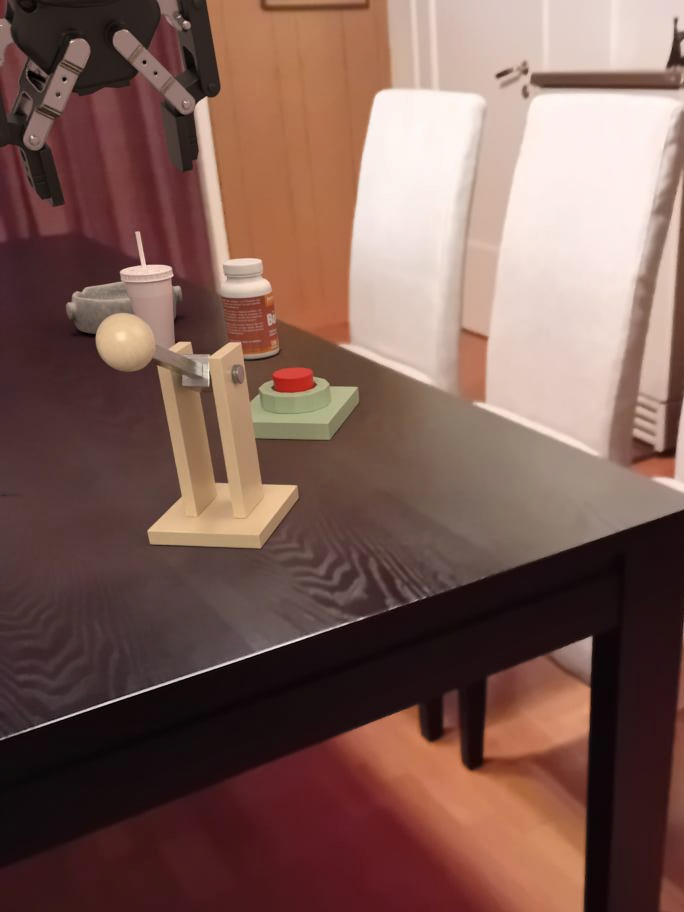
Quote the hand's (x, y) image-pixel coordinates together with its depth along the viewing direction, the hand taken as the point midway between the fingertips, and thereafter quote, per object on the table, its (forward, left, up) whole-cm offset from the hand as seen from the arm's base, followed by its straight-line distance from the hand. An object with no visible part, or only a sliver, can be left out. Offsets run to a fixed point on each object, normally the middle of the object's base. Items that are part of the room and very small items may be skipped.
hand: (118, 182), depth 64 cm
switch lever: (0, -1, -13) cm, 13 cm away
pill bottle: (+33, +47, -26) cm, 63 cm away
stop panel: (+23, +21, -26) cm, 41 cm away
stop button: (+23, +21, -23) cm, 39 cm away
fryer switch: (+5, +3, -26) cm, 27 cm away
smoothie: (+26, +59, -26) cm, 70 cm away
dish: (+28, +74, -26) cm, 83 cm away
